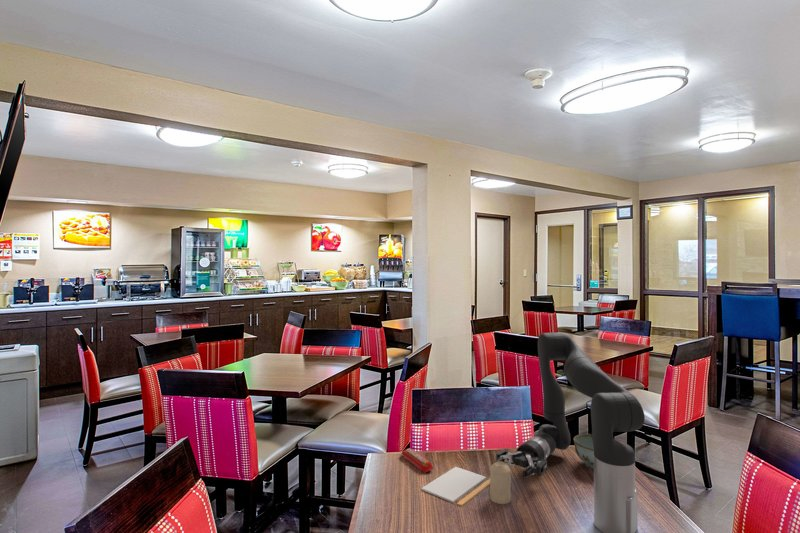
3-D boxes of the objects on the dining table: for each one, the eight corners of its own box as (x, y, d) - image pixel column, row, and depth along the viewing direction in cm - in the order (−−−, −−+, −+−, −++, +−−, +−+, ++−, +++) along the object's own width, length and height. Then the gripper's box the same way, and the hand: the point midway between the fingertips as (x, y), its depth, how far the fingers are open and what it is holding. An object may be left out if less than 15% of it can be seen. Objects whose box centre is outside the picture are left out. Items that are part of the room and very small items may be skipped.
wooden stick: (494, 481, 135) (494, 480, 135) (461, 506, 121) (461, 504, 121) (489, 479, 136) (489, 478, 136) (457, 504, 122) (457, 502, 122)
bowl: (565, 465, 145) (565, 440, 145) (585, 453, 154) (584, 430, 154) (607, 480, 135) (607, 454, 135) (626, 466, 144) (626, 442, 144)
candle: (510, 505, 121) (510, 468, 121) (490, 503, 122) (490, 467, 122) (510, 495, 127) (510, 459, 127) (490, 493, 128) (490, 458, 128)
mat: (486, 478, 136) (486, 476, 136) (453, 502, 123) (453, 501, 123) (455, 468, 144) (455, 466, 144) (421, 489, 130) (421, 488, 130)
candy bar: (399, 456, 153) (399, 447, 153) (409, 454, 155) (409, 445, 155) (425, 475, 139) (424, 466, 139) (434, 473, 141) (434, 463, 141)
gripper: (512, 434, 146) (487, 450, 133) (555, 446, 137) (533, 464, 124) (512, 457, 146) (488, 475, 134) (556, 470, 137) (533, 491, 124)
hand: (509, 470), depth 129 cm, fingers open, 8 cm apart
